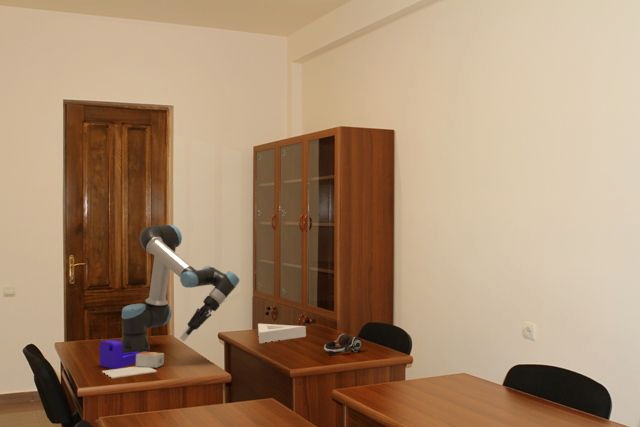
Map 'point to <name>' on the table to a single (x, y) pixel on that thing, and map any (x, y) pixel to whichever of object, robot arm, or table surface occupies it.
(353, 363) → the table surface
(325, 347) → the headset
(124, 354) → the bracket
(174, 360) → the table surface
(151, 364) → the small box
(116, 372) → the mat
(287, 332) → the triangular ruler
